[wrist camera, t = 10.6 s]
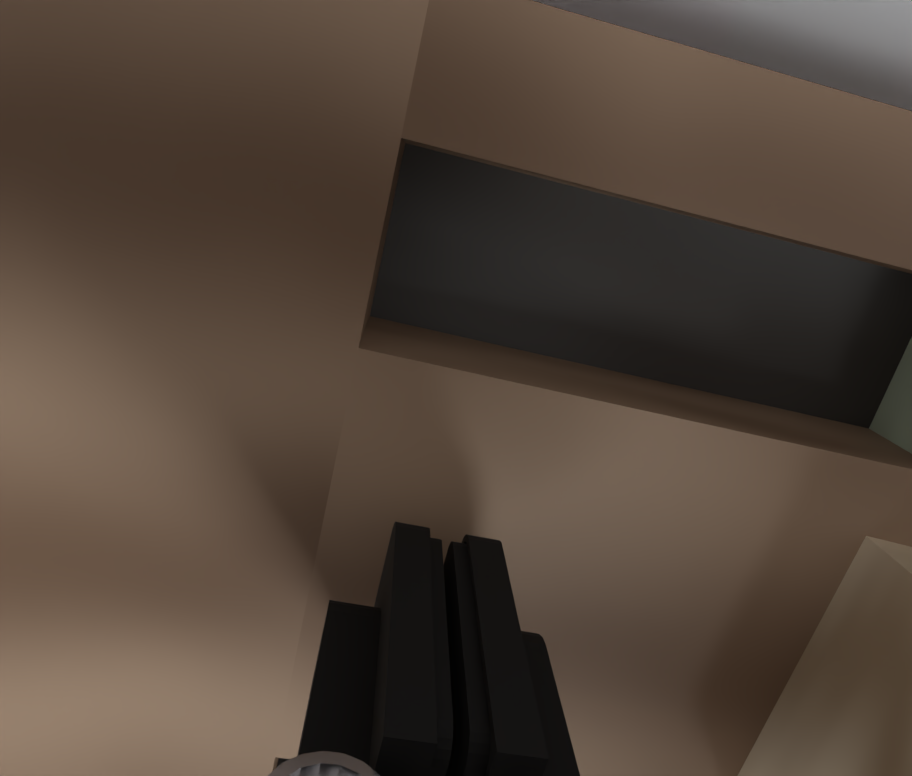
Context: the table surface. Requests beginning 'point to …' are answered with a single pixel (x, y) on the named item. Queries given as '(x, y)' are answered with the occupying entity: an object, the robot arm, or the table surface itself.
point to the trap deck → (429, 363)
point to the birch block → (850, 680)
